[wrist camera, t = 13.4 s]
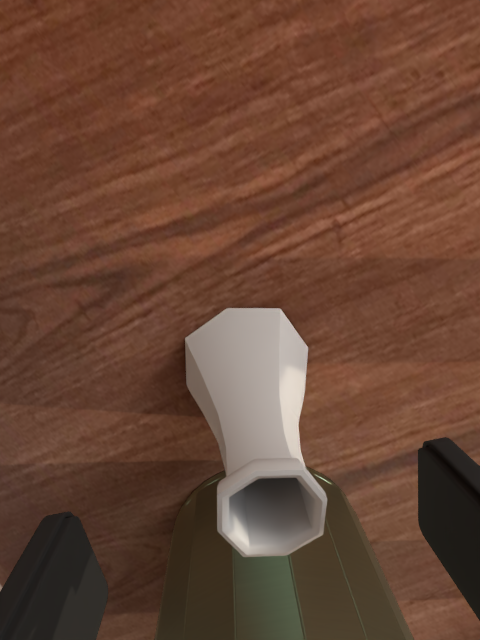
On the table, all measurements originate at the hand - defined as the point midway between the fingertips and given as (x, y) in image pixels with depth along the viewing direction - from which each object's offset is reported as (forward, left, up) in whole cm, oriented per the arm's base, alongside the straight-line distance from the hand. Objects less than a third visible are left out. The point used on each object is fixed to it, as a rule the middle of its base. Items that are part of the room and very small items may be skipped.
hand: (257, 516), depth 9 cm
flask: (0, 0, -10) cm, 10 cm away
